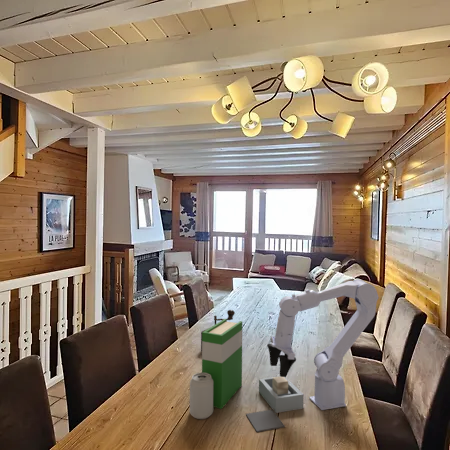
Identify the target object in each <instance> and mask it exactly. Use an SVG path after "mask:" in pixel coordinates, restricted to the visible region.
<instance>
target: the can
mask: <svg viewBox="0 0 450 450" xmlns="http://www.w3.org/2000/svg"><path fill="white" fill-rule="evenodd" d="M213 413H214V407H213V379H212V378H211V375H210V374H208V373H202V372H196V373H193V374H192V376H191V379H190V381H189V414H190V415H191V416H192V417H193V418H194V419H197V420H206V419H208V418H209V417H210V416H212V414H213Z"/></svg>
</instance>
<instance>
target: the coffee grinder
mask: <svg viewBox="0 0 450 450" xmlns="http://www.w3.org/2000/svg"><path fill="white" fill-rule="evenodd" d="M226 314H227V318H226V319H227V321H232V320H233V319H234V316H235V311H234V310H233V309H229V310H227V312H226ZM213 317H214V318H213V321H214V325H215V324H217V322H218V321H219V322H220V321H222V320H224V319H225V318H217V315H216V314H215V315H214V316H213ZM209 328H210V327H208V328H206V329H204V330H202V331H201V332H200V351H201V352H202V332H204V331H205V330H207V329H209Z"/></svg>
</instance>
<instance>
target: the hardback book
mask: <svg viewBox="0 0 450 450" xmlns="http://www.w3.org/2000/svg"><path fill="white" fill-rule="evenodd" d="M223 319H224V320H220V321H219V322H216V324H215V323H214V324H213V325H212V326H210V327H208V328H209V329H208V328H206V329H207V330H206V329H204V330H205V331H204V330H203V331H204V332H202V331H201V332H202V351H201V373H208V374H210V375H211V378H212V379H213V408H217V409H221V410H222V409H223V408H224V407H225V406H226V404H227V403H228V402H229V401H230V400H231V399H232V397H233V396H234V395H235V394H236V393H237V392H238V391H239V390H240V388H241V387H242V385H243V321H242V320H241V321H238V322H232V321H228V320H227V318H223Z"/></svg>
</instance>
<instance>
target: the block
mask: <svg viewBox="0 0 450 450" xmlns="http://www.w3.org/2000/svg"><path fill="white" fill-rule="evenodd" d="M279 376H280V375H279ZM272 377H273V383H272V389H273V390H274V391H275V392H276V394H277V395H278V394H285V393H288V381H287V380H286V379H285V378H284V377H281V376H280V377H277V376H272Z"/></svg>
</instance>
